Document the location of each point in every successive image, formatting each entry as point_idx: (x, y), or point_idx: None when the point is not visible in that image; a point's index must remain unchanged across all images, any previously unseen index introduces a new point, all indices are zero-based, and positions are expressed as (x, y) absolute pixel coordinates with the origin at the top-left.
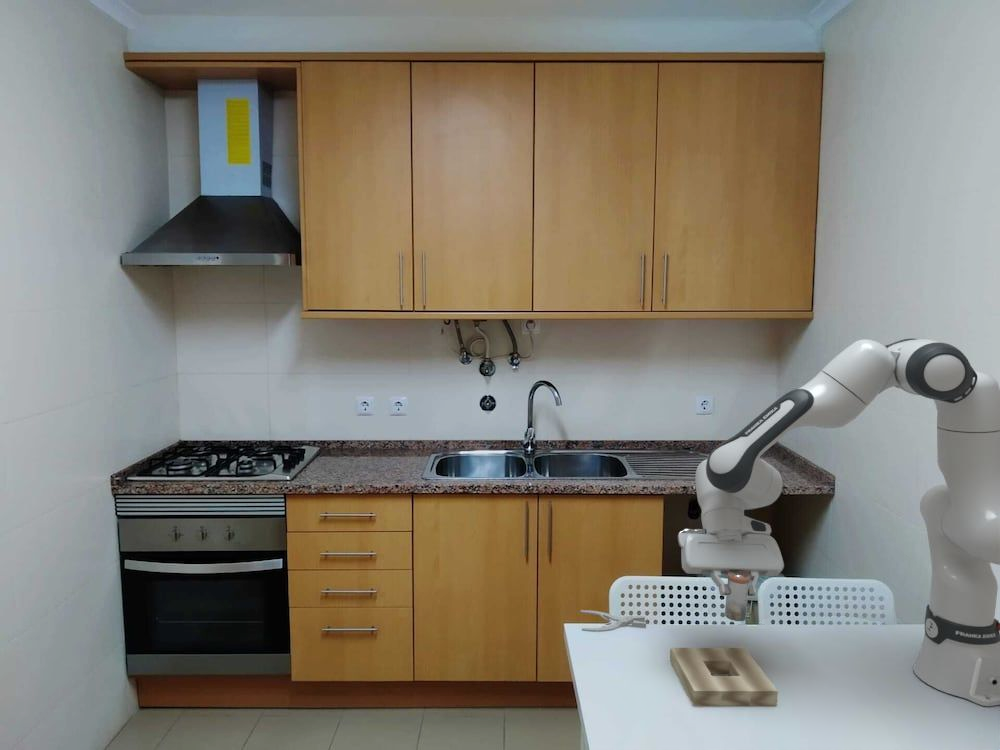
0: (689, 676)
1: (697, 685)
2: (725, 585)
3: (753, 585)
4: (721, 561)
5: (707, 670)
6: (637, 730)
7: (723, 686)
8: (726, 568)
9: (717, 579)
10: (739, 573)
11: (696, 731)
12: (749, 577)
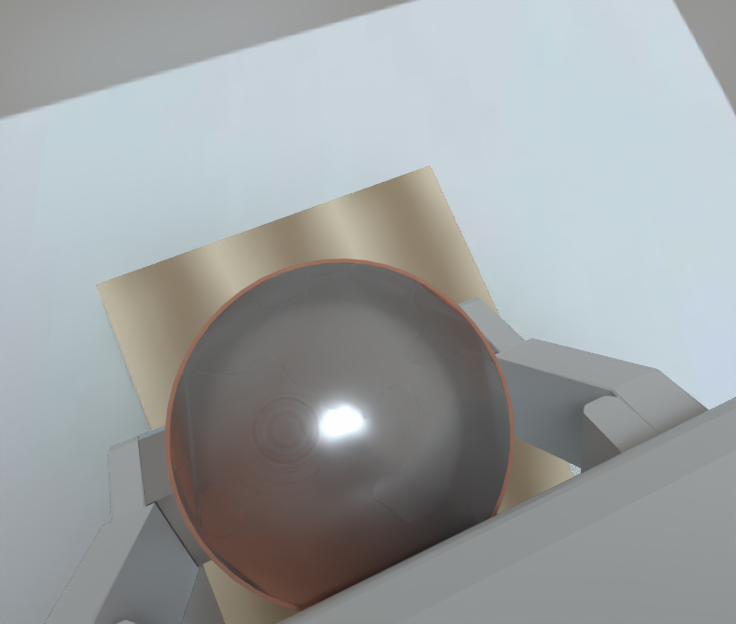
0: (462, 262)
1: (424, 208)
2: None
3: (133, 502)
4: (718, 535)
5: None
6: (554, 10)
7: (325, 236)
8: (562, 486)
9: (590, 353)
10: (341, 434)
11: (390, 55)
12: (178, 374)
